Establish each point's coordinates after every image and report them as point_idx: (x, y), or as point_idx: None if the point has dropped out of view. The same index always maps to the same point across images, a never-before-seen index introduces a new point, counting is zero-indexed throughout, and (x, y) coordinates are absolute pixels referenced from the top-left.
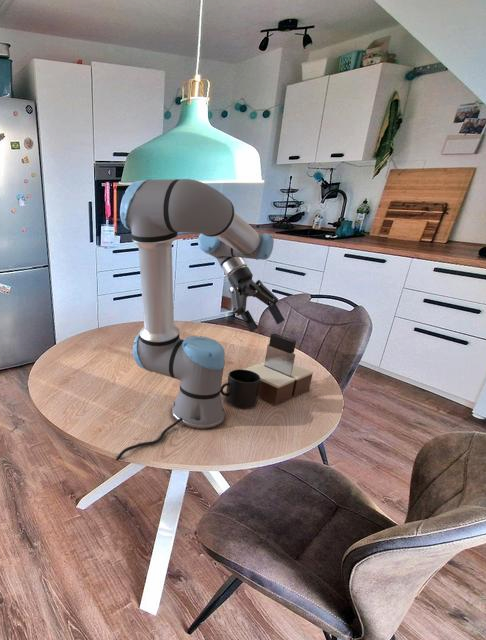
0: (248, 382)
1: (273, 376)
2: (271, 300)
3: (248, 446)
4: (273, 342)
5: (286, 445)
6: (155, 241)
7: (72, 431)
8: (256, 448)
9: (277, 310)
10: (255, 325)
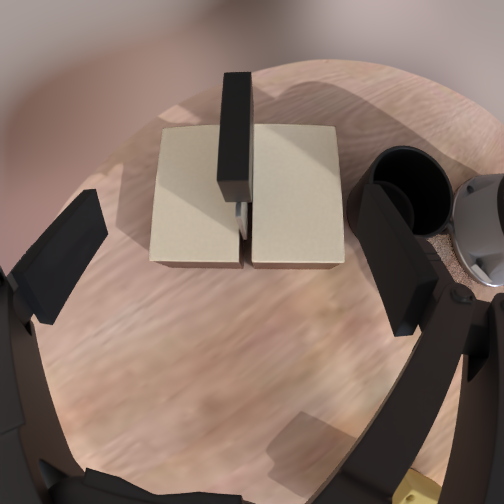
0: (430, 157)
1: (295, 167)
2: (4, 303)
3: (461, 115)
4: (251, 172)
5: (408, 79)
6: None
7: None
8: (453, 105)
9: (57, 231)
10: (381, 193)
